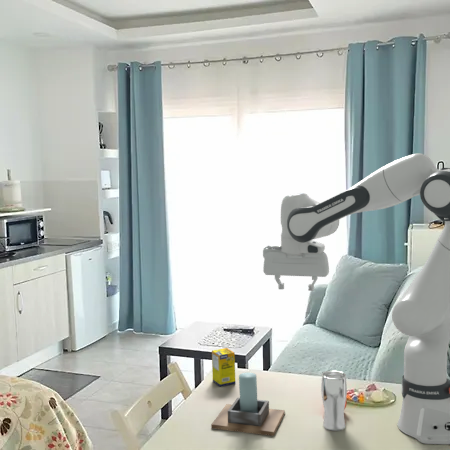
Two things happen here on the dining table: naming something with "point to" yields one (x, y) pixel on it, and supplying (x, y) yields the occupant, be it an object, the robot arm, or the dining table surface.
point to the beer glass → (334, 399)
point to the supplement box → (223, 366)
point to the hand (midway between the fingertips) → (296, 289)
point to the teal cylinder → (248, 392)
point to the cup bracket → (249, 419)
